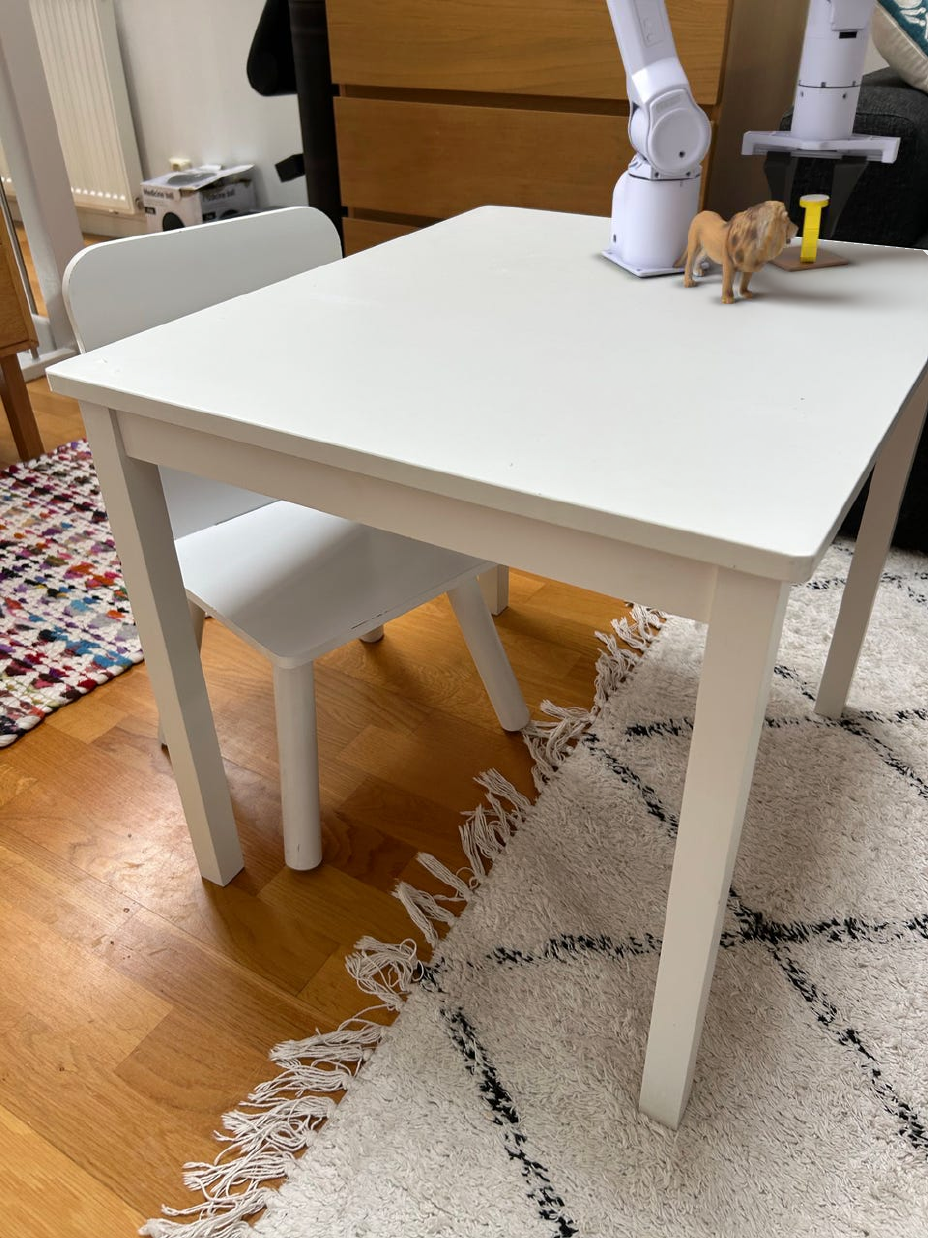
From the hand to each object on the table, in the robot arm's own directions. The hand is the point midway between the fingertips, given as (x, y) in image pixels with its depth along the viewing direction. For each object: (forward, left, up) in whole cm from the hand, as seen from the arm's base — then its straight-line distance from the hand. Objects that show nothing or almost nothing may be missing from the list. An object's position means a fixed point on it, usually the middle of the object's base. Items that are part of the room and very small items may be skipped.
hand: (803, 234), depth 99 cm
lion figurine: (+6, -13, -3) cm, 15 cm away
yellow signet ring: (+1, 0, -2) cm, 3 cm away
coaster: (0, 0, -2) cm, 2 cm away
